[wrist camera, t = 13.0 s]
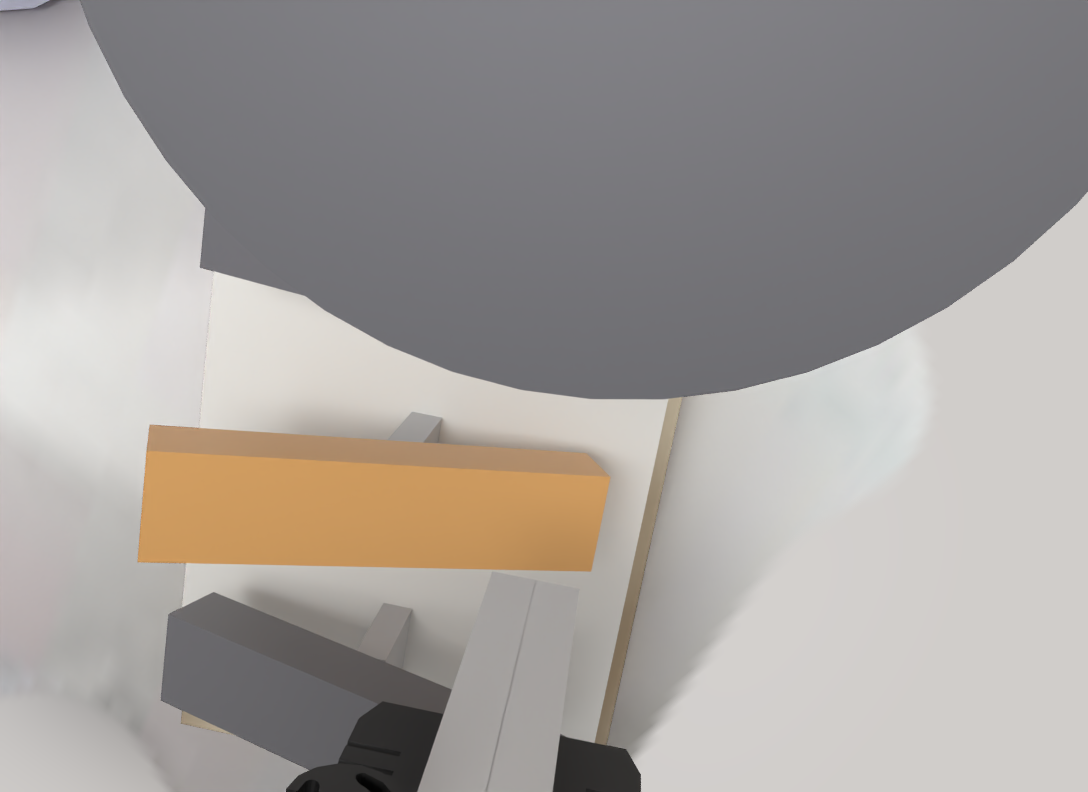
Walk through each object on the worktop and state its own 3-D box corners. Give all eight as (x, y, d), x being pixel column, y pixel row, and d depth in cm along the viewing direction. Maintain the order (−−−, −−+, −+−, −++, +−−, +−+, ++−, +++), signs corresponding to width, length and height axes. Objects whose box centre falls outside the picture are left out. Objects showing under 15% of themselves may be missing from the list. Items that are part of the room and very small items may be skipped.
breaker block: (206, 626, 31) (126, 713, 26) (258, 119, 27) (175, 113, 22) (597, 708, 30) (587, 813, 25) (704, 201, 26) (717, 213, 22)
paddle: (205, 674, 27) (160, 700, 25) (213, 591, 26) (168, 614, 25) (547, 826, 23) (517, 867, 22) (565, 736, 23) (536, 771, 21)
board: (207, 690, 34) (180, 723, 32) (280, -12, 28) (252, -24, 26) (594, 773, 33) (591, 812, 31) (747, 71, 27) (755, 65, 25)
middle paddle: (141, 529, 22) (137, 562, 21) (149, 424, 21) (146, 450, 20) (568, 542, 26) (591, 571, 24) (586, 453, 25) (610, 477, 23)
